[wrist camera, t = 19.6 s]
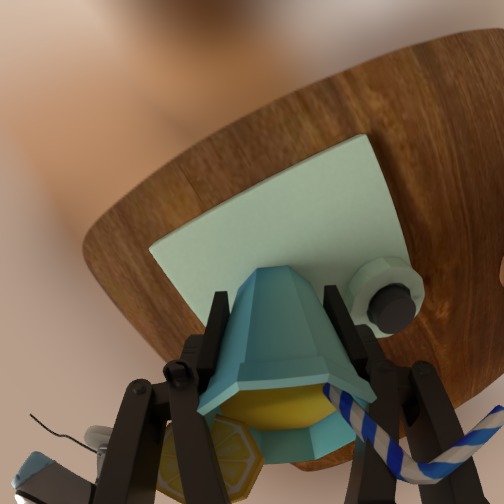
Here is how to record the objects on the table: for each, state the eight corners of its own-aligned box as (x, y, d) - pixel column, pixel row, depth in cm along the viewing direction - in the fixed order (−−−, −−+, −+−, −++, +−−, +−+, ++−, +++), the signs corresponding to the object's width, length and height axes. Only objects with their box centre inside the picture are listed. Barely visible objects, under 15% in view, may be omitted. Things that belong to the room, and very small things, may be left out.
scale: (248, 369, 23) (247, 394, 21) (153, 242, 19) (138, 259, 16) (412, 295, 20) (428, 314, 18) (359, 133, 16) (378, 133, 13)
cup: (357, 197, 16) (553, 366, 2) (389, 290, 19) (492, 459, 5) (173, 290, 19) (85, 492, 5) (229, 361, 22) (210, 537, 8)
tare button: (374, 326, 18) (382, 341, 17) (364, 297, 17) (373, 311, 16) (408, 307, 18) (418, 321, 16) (401, 277, 17) (413, 290, 15)
